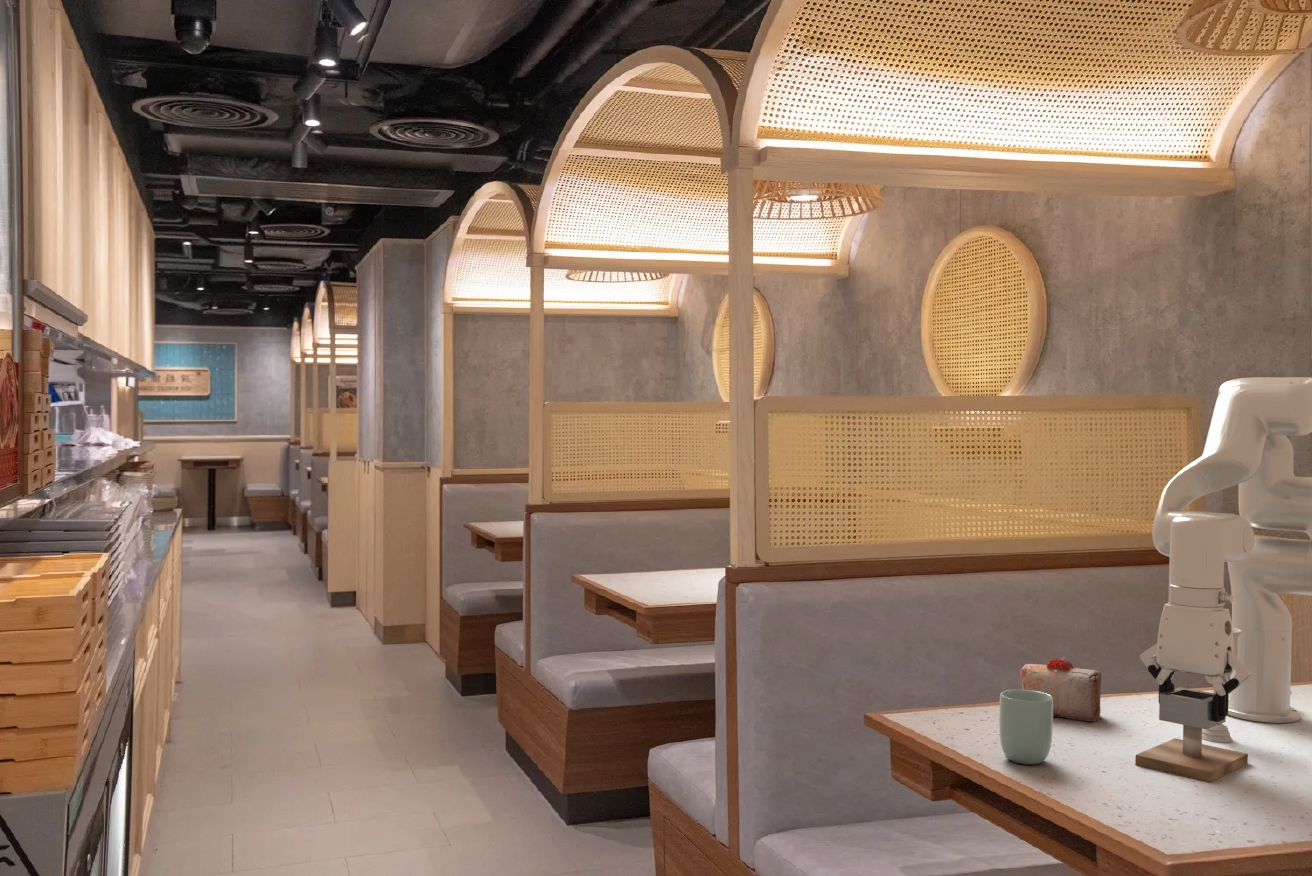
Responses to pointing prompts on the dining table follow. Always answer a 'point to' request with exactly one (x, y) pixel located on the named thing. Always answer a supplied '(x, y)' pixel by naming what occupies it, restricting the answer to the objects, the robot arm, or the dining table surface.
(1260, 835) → the dining table surface
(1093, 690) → the food item
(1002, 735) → the cup
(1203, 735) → the chalice
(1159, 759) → the brown flat pegged piece
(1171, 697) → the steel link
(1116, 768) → the dining table surface
